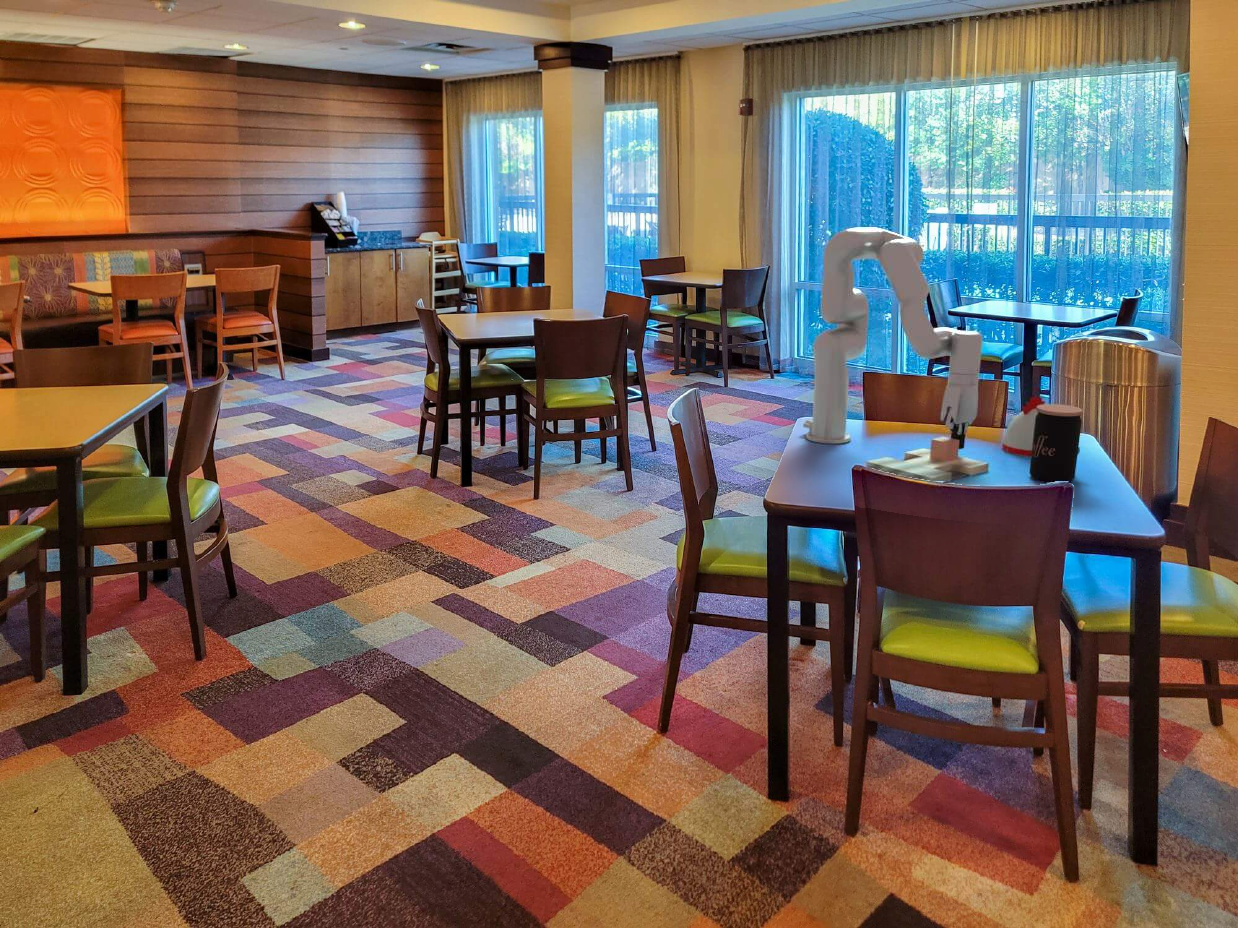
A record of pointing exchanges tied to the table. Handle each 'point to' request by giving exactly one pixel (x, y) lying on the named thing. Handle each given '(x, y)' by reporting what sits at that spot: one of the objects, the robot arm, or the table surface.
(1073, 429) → the coffee jar
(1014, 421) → the kitchen timer
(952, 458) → the block
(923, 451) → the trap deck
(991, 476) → the table surface
